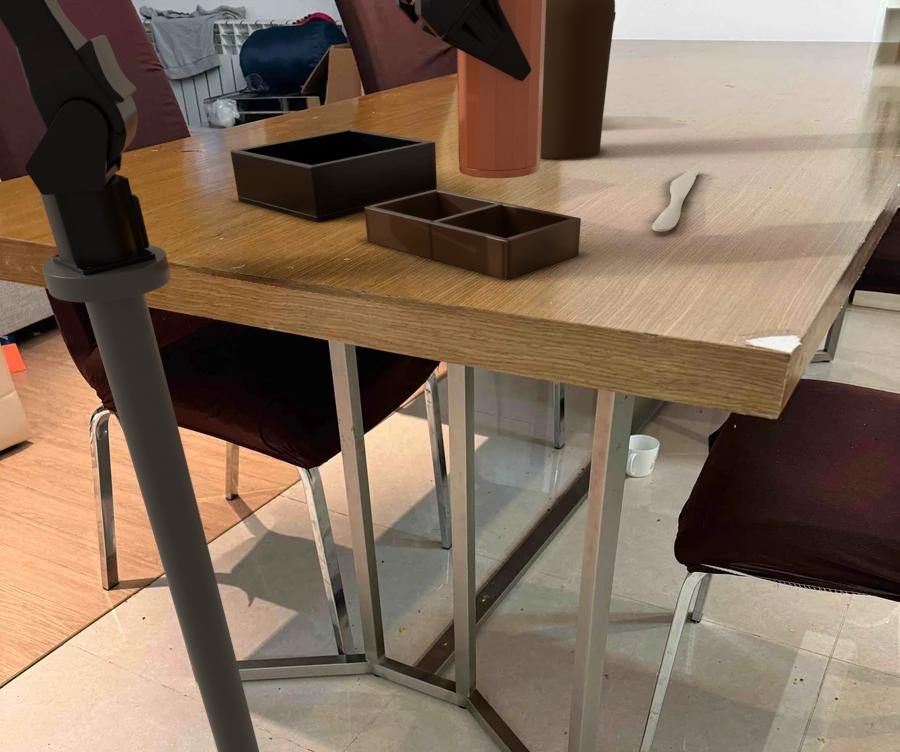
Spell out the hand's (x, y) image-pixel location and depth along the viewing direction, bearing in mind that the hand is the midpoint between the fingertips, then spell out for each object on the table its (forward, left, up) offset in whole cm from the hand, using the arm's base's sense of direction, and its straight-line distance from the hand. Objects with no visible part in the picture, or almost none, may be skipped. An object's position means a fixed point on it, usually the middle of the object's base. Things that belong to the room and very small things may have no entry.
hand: (516, 70), depth 67 cm
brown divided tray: (-3, +3, -13) cm, 14 cm away
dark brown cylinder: (+36, +25, -14) cm, 46 cm away
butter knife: (+23, -1, -13) cm, 27 cm away
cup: (-1, +1, -7) cm, 7 cm away
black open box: (+2, +29, -13) cm, 32 cm away
